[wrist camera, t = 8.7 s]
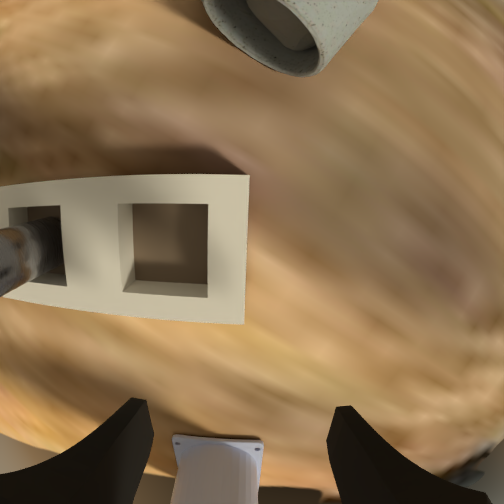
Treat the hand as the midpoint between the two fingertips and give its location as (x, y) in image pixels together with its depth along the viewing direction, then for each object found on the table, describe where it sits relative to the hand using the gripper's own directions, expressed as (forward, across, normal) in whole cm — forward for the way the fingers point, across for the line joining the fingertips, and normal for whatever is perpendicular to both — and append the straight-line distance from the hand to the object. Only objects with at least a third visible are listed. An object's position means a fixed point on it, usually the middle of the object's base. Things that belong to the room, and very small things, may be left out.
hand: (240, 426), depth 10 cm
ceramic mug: (+10, -1, -20) cm, 23 cm away
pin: (+9, +14, -5) cm, 17 cm away
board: (+10, +9, -5) cm, 14 cm away
